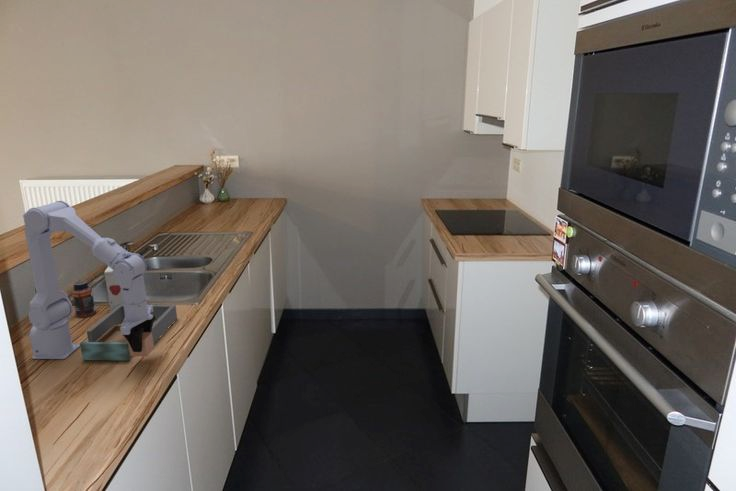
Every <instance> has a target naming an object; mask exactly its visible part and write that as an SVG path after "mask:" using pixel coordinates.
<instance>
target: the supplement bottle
mask: <svg viewBox="0 0 736 491" xmlns="http://www.w3.org/2000/svg"><path fill="white" fill-rule="evenodd" d="M71 296H72V297H71V298H72V302H73V306H74V311H75V316H76V317H78V318H87V317H90V316H93V315H95V314H96V312H97V311H96V304H95V298H94V293H93V288H92V287H91V286H89V285H88V281H87V280H78V281H75V282H73V289H72V291H71Z"/></svg>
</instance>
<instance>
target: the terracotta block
mask: <svg viewBox="0 0 736 491" xmlns="http://www.w3.org/2000/svg"><path fill="white" fill-rule="evenodd" d="M128 343H129V342H128ZM154 349H155V344H154V343H153V336H152V332H143V335H142V351H141V352H133V350H132V348H131V346H130V344H129V350H130V356H131V357H148V356H149V355H150V354H151V353H152V351H153V350H154Z"/></svg>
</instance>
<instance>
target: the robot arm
mask: <svg viewBox="0 0 736 491" xmlns="http://www.w3.org/2000/svg"><path fill="white" fill-rule="evenodd" d="M22 218H23V223H24V226H25V227H24V236H25V240H26V245H27V251H28V256H29V261H30V265H31V271H32V276H33V282H34V288H35V291H36V293H35V295H34V296H33V298H32V299H31V301H30V302H29V303H28V304H29V305H28V306H29V312H28V319H29V322H30V324H31V325H32V327H31V329H30V332H29V339H30V344H31V350H32V353H33V354H32V355H33V356H32V357H31V359H33V360H35V359H36V360H45V359H46V360H65V359H66V358H68V357H69V356H70V355H71V354H73V353H74V352H75V351H76V350H77V349H78V348H81V347H80V343H77V344H76V343H73V339H72V338H73V337H72V332H71V329H70V324H69V323H70V322H69V320H70V319H71V317H70V315H72V314H73V311H74V309H73V304H72V302H71V300H70V299H69V295H68V293H67V292H66V291H63V290H61V289H60V285H59V280H58V274H57V269H56V263H55V257H54V250H53V245H52V241H51V236H52V235H53V234H54V233H55V232H67V233H69V234H70V235H72V236H73V237H75V238H77V240H79V241H81V242H83V243H84V244H86V245H87V246H89V247H90V248H91V249H92V250H91V251H92V255H93V256H95V258H97V259H98V260H99V261H101V262H103V263H104V265H107V267H108V266H109V267H110V268H112V269H113V270H114V271H112V272H113V275H114V276H115V278H116V279H117V280H118V283H119V286H120V287H121V292H122V299H123V305H124V312H125V318H124V321H122V324H121V325H122V327H121V328H120V331H121V335H123V336H124V337H125V338H126V339H127V341H128V342H129V344H130V346H131V348H132V350H133V352H141V351H142V335H143V332H151V331H152V326H153V324H154V323H155V321H154V320H155V316H154V315H152V314H150V313H152V312H153V305H154V304H148V300H147V293H146V285H145V280H144V279H145V278H144V273H145V272H146V271H147V268H148V265H147V264H148V263H147V261H146V260H145V258H144V257H143V256H142V255H141V253H140V254H139V253H135V252H134V253H132V252H130V251H127V250H126V249H125V248H124V247H122V246H121V245H119V243H117V242H116V240H115V239H113V238H110V237H101V236H100V234H98V233H97V232H96V231H95V230H94V229H92V228H91V227H90V225H88V224H86V222H85V221H83V220H82V219H81V218H80V217H79V216H78V215H77V212H76V209H75V208H74V207H73V206H71V205H70V204H69V203H67V202H66V201H64V200H56V201H55V202H50V203H47V204H44V205H41V206H35V207H31V208H29V209H28V210H27V211H26V212H25V213H24V214H23V215H22Z"/></svg>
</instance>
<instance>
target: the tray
mask: <svg viewBox="0 0 736 491" xmlns="http://www.w3.org/2000/svg"><path fill="white" fill-rule="evenodd" d="M122 325H123V324H119V325H114V326H112V327H111V328H110V329H109V330H108V331H107V332H105V333H104V334H103V335H102V336H101V337H100V338H99V339H97V340H96V341H95V342H88V341H81V342H80V343H79V344H80V347H79V348H80V352H81V358H82V360H83V361H124V362H127V361H130V360H131V359H132V358H131V357H132V356H130V350H129V343H128V341H127V339H126V338H125V337H124V336H123V335H121V331H120V328H121V327H122Z"/></svg>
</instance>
